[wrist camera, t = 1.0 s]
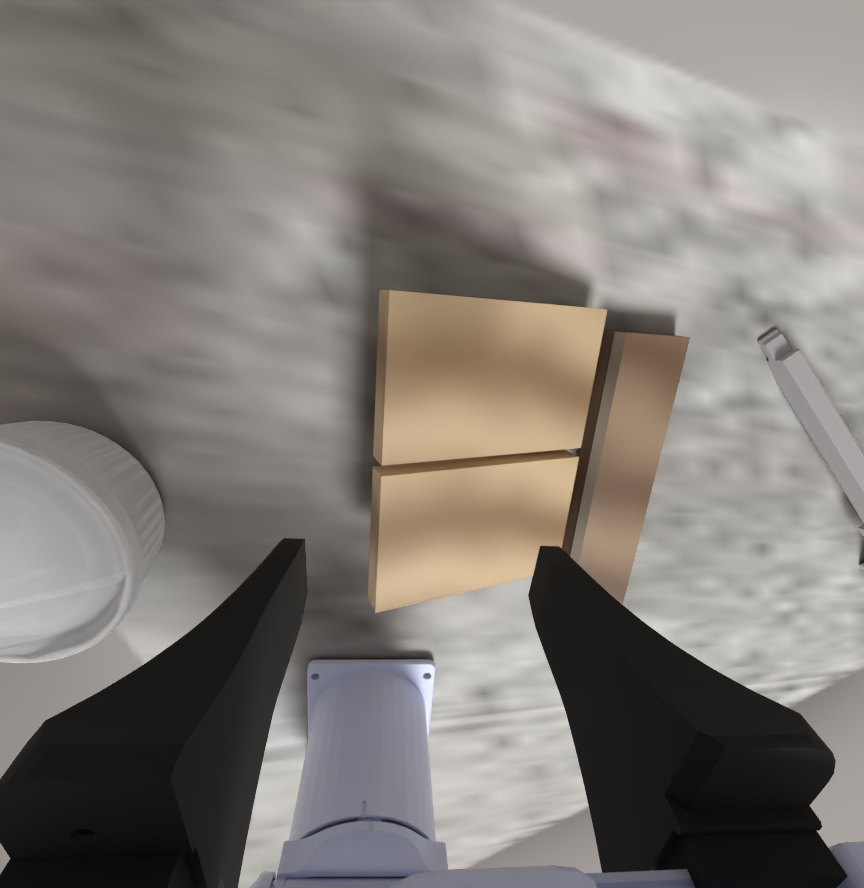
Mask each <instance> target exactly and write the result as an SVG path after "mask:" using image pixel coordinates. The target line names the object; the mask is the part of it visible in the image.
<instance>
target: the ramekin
mask: <svg viewBox="0 0 864 888" xmlns="http://www.w3.org/2000/svg"><path fill="white" fill-rule="evenodd" d="M164 530H165V514H164V509H163V504H162V501H161V498H160V494H159V492H158V491H157V488H156V486H155V484H154V482H153V481H152V479H151V477H150V476H149V474H148V472H147V471H146V470H145V469H144V468H143V466H142V465H141V464H140V463H139V461H137V460H136V459H135V458H134V457H133V456H132V455H131V454H130V453H129V452H128V451H126V450H125V449H123V448H122V447H121V446H120V445H118V444H117V443H115V442H113V441H111V440H110V439H108V438H107V437H105V436H102V435H100V434H98V433H96V432H95V431H92V430H88V429H86V428H84V427H81V426H75V425H72V424H69V423H62V422H54V421H24V422H16V423H8V424H0V662H7V663H33V662H45V661H50V660H57V659H61V658H65V657H68V656H71V655H74V654H76V653H79V652H81V651H84V650H86V649H88V648H90V647H92V646H93V645H95V644H97V643H98V642H100V641H101V640H102V639H104V638H105V637H106V636H107V635H109V634H110V633H111V632H112V631H113V630H114V629H115V628H116V627H117V626H118V624H119V623H120V622H121V621H122V619H123V618H124V617H125V616H126V614H127V613H128V612H129V610H130V609H131V607H132V605H133V604H134V602H135V600H136V597H137V595H138V592H139V590H140V586H141V583H142V581H143V580H144V578H145V576H146V574H147V572H148V571H149V569H150V567H151V565H152V563H153V561H154V560H155V558H156V556H157V554H158V552H159V551H160V548H161V544H162V541H163V539H164Z"/></svg>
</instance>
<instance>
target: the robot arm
mask: <svg viewBox="0 0 864 888" xmlns="http://www.w3.org/2000/svg"><path fill="white" fill-rule="evenodd" d="M306 596H307V575H306V553H305V539H290V538H284V539H282V540H281V541H280V542H279V543H278V545H277V546H276V547H275V548H274V549H273V550H272V552H271V553H270V554H269V555H268V556H267V557H266V559H265V560H264V561H263V562H262V563H261V564H260V565H259V566H258V568H257V569H256V570H255V571H254V572H253V573H252V574H251V575H250V576H249V577H248V578H247V579H246V580H245V581H244V582H243V583H242V584H241V586H240V587H239V588H238V589H237V590H236V591H235V592H233V593H232V594H231V595H230V596H229V597H228V598H227V599H226V600H225V601H224V602H223V603H222V604H221V605H220V606H219V607H218V608H217V609H215V610H214V611H213V612H212V613H211V614H210V615H209V616H208V617H206V618H205V619H204V620H203V621H202V622H201V623H199V624H198V625H197V626H196V627H194V628H193V629H192V630H191V631H190V632H188V633H187V634H186V635H185V636H183V637H182V638H181V639H179V640H178V641H177V642H175V643H174V644H172V645H171V646H170V647H168V648H167V649H165V650H164V651H163V652H161V653H160V654H158V655H157V656H156V657H154V658H153V659H151V660H150V661H148V662H147V663H145V664H144V665H142V666H141V667H139V668H138V669H136V670H135V671H133V672H131V673H130V674H128V675H127V676H125V677H123V678H122V679H120V680H118V681H117V682H115V683H113V684H112V685H110V686H108V687H107V688H105V689H103V690H102V691H100V692H98V693H97V694H95V695H93V696H91V697H89V698H87V699H85V700H84V701H82V702H80V703H78V704H76V705H74V706H72V707H71V708H69V709H67V710H65V711H63V712H61V713H59V714H58V715H55V716H53V717H52V718H50V719H48V720H46V721H45V722H44V723H43V724H42V726H41V727H40V728H39V729H38V730H37V731H36V733H35V734H34V735H33V736H32V737H31V739H30V740H29V741H28V742H27V744H26V745H25V746H24V748H23V749H22V750H21V752H20V753H19V754H18V756H17V757H16V758H15V760H14V761H13V762H12V764H11V765H10V767H9V768H8V769H7V771H6V772H5V773H4V775H3V776H2V778H1V779H0V843H1V844H2V846H3V847H4V849H5V851H6V852H7V854H8V855H9V857H10V858H11V859H10V860H9V862H8V863H7V865H6V866H5V868H4V870H3V871H2V873H1V875H0V888H238V882H239V877H240V872H241V866H242V861H243V855H244V850H245V845H246V839H247V834H248V829H249V824H250V819H251V814H252V809H253V804H254V799H255V794H256V789H257V784H258V780H259V775H260V770H261V765H262V761H263V756H264V751H265V747H266V742H267V738H268V733H269V729H270V724H271V720H272V715H273V712H274V708H275V704H276V701H277V697H278V694H279V691H280V688H281V685H282V682H283V679H284V676H285V672H286V669H287V666H288V663H289V660H290V657H291V654H292V651H293V648H294V644H295V641H296V638H297V635H298V632H299V629H300V625H301V621H302V616H303V611H304V606H305V601H306ZM528 596H529V600H530V605H531V610H532V614H533V618H534V623H535V627H536V630H537V632H538V635H539V638H540V641H541V644H542V646H543V649H544V652H545V655H546V657H547V660H548V663H549V665H550V668H551V671H552V674H553V676H554V679H555V682H556V684H557V687H558V690H559V693H560V695H561V698H562V701H563V704H564V708H565V711H566V714H567V718H568V722H569V725H570V729H571V733H572V737H573V741H574V744H575V748H576V753H577V757H578V761H579V765H580V769H581V773H582V777H583V782H584V786H585V790H586V795H587V800H588V804H589V809H590V813H591V818H592V822H593V827H594V832H595V837H596V842H597V847H598V853H599V858H600V863H601V868H602V873H587V874H585V873H583V872H581V871H580V870H578V869H576V868H574V867H564V866H554V865H552V866H529V867H528V866H527V867H503V868H480V869H455V870H448V864H447V854H446V844H445V843H444V842H436V838H435V826H434V813H433V800H432V787H431V775H430V762H429V749H428V739H429V729H430V719H431V709H432V699H433V689H434V679H435V663H434V662H433V661H432V660H428V659H405V660H313V661H311V662H310V663H309V664H308V668H307V699H308V744H307V750H306V755H305V760H304V765H303V770H302V776H301V781H300V786H299V791H298V796H297V802H296V807H295V812H294V817H293V822H292V828H291V833H290V838H289V841H285V842H284V844H283V849H282V854H281V859H280V864H279V869H278V874H277V879H276V881H275V872H273V871H263V872H262V873H261V874H260V875H259V877H258V879H257V881H255V882H254V883H253V885H252V886H251V887H250V888H864V842H846V843H839V844H836V845H834V846H832V847H830V848H828V847H827V846H826V844H825V843H824V841H823V840H822V838H821V837H820V835H819V834H818V833H817V831H816V830H820V829H821V828H822V825H821V821H820V820H819V819H818V817H817V816H816V814H815V813H814V812H813V810H812V809H811V807H810V806H809V805H810V804H811V803H812V802H813V800H814V799H815V798H816V797H817V795H818V794H819V793H820V792H821V791H822V789H823V788H824V787H825V786H826V784H827V783H828V782H829V780H830V779H831V777H832V775H833V774H834V768H835V758H834V755H833V753H832V751H831V750H830V749H829V748H828V747H827V746H826V744H825V743H824V742H823V741H822V739H821V738H820V737H819V736H818V735H817V733H816V732H815V731H814V730H813V729H812V727H810V725H809V724H808V723H807V722H806V720H805V719H804V718H803V717H802V715H801V714H799V713H797V712H795V711H793V710H791V709H789V708H787V707H785V706H783V705H781V704H779V703H777V702H775V701H773V700H770V699H768V698H766V697H764V696H762V695H760V694H758V693H756V692H754V691H752V690H750V689H748V688H746V687H745V686H743V685H741V684H739V683H737V682H735V681H734V680H732V679H730V678H728V677H726V676H724V675H723V674H721V673H719V672H717V671H716V670H714V669H712V668H711V667H709V666H707V665H706V664H704V663H702V662H701V661H699V660H698V659H696V658H694V657H693V656H691V655H690V654H688V653H687V652H685V651H683V650H682V649H680V648H679V647H677V646H676V645H674V644H673V643H671V642H670V641H669V640H667V639H666V638H664V637H663V636H662V635H660V634H659V633H658V632H656V631H655V630H653V629H652V628H651V627H649V626H648V625H647V624H645V623H644V622H643V621H641V620H640V619H639V618H638V617H636V616H635V615H634V614H633V613H632V612H630V611H629V610H628V609H627V608H626V607H624V606H623V605H622V604H621V603H620V602H618V601H617V600H616V599H615V598H614V597H613V596H612V595H610V594H609V593H608V592H607V591H606V590H605V589H604V588H603V587H602V586H601V585H600V584H598V583H597V582H596V581H595V580H594V579H593V578H592V577H591V576H590V575H589V574H588V573H587V572H586V571H585V570H584V569H583V568H582V567H581V566H580V565H578V564H577V563H576V562H575V561H574V560H573V559H572V558H571V557H570V556H569V555H568V554H567V553H566V552H565V551H564V550H563V549H562V548H561V547H559V546H540V548H539V553H538V557H537V561H536V565H535V570H534V574H533V578H532V582H531V587H530V591H529V595H528ZM425 673H429V674H425ZM314 674H318V675H314Z"/></svg>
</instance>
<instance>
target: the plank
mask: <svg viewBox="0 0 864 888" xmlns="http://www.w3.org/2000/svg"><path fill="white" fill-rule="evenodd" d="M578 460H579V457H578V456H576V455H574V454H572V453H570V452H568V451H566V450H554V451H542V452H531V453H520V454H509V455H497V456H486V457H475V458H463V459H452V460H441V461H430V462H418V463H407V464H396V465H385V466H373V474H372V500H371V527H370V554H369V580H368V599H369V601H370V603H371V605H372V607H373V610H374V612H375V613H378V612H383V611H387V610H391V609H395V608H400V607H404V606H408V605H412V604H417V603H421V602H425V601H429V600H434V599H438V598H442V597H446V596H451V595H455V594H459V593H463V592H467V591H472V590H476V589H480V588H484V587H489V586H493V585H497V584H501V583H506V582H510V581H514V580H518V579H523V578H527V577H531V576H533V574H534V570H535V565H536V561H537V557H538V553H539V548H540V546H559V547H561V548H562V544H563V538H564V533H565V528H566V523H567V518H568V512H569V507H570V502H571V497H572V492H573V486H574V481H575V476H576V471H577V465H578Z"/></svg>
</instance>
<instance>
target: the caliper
mask: <svg viewBox="0 0 864 888" xmlns="http://www.w3.org/2000/svg"><path fill="white" fill-rule="evenodd" d="M758 343H759V345H760V347H761V348H762V350H763V351H764V353H765V355H766V356H767V358H768V359H769V360H767V363H768V365H769V367H770V370H771V372H772V374H773V376H774V378H775V381H776V383H777V385H778V386H779V388H780V389H781V391H782V393H783V394H784V396H785V397H786V399H787V401H788V402H789V404H790V405H791V407H792V409H793V410H794V412H795V413H796V415H797V417H798V418H799V420H800V421H801V423H802V424H803V426H804V428H805V429H806V431H807V432H808V434H809V436H810V437H811V439H812V440H813V442H814V444H815V445H816V447H817V448H818V450H819V452H820V453H821V455H822V456H823V458H824V460H825V461H826V463H827V464H828V466H829V468H830V469H831V471H832V473H833V474H834V476H835V477H836V479H837V481H838V482H839V484H840V485H841V487H842V489H843V490H844V492H845V494H846V495H847V497H848V498H849V500H850V502H851V503H852V505H853V507H854V508H855V510H856V511H857V513H858V515H859V516H860V518H861V519H862V521H863V523H864V455H863V453H862V451H861V450H860V448H859V446H858V445H857V443H856V441H855V440H854V438H853V436H852V435H851V433H850V432H849V430H848V428H847V427H846V425H845V423H844V422H843V420H842V418H841V417H840V415H839V413H838V412H837V410H836V408H835V407H834V405H833V404H832V402H831V400H830V399H829V397H828V395H827V394H826V392H825V390H824V389H823V387H822V386H821V384H820V382H819V381H818V379H817V377H816V376H815V374H814V372H813V371H812V369H811V367H810V366H809V364H808V363H807V361H806V359H805V358H804V356H803V354H802V353H801V351H800V350H797V349H793V350H792V349H791V347H790V346H789V344H788V342H787V341H786V339H785V337H784V336H783V334H782V333H779V331H778V330H776V329H774V330H773V331H771V332H770V333H769V334H767V335H766V336H764V337H763V338H761V339H760V340H758ZM858 530H859V532H860V533H861V534H862V535H863V536H864V525H863V526H861V527H859V528H858ZM859 566H860V568H861V570H863V571H864V562H863V563H861V564H859Z"/></svg>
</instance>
